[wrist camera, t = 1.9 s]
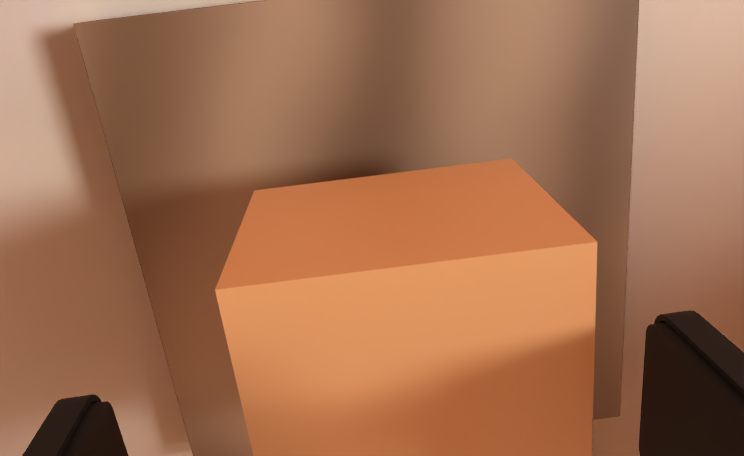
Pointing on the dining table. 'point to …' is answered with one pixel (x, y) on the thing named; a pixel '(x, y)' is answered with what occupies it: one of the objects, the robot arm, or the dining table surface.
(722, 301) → the dining table surface
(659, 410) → the robot arm
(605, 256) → the post stand
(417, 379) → the orange bevelled cube
